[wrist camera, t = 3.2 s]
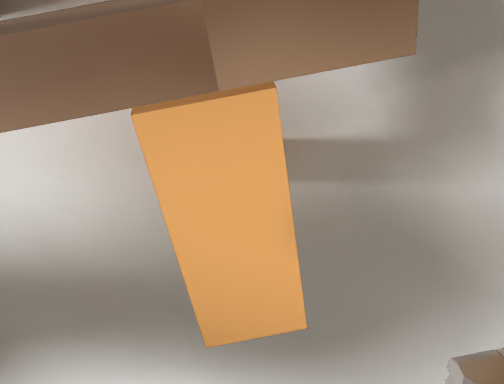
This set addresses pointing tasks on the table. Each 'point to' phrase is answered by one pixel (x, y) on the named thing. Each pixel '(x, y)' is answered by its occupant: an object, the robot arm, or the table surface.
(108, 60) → the brown stool
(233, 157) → the orange arch brick
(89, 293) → the table surface
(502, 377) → the robot arm
